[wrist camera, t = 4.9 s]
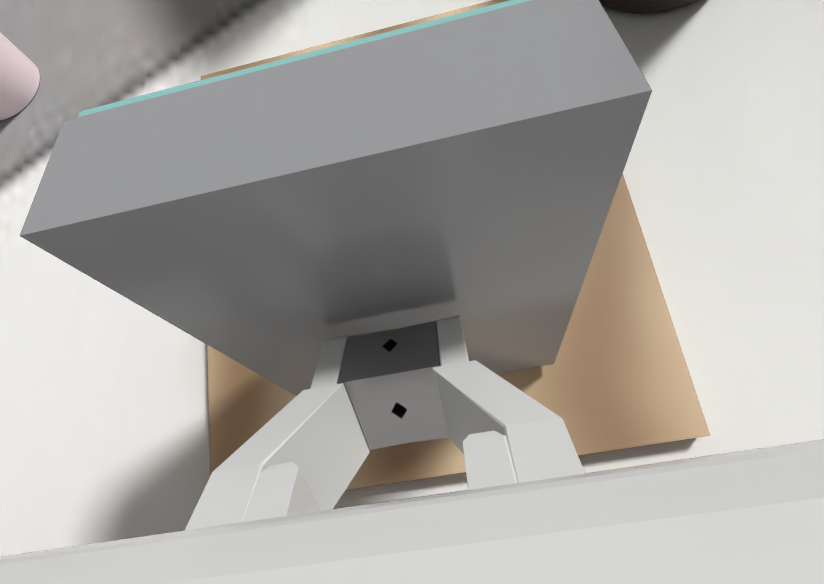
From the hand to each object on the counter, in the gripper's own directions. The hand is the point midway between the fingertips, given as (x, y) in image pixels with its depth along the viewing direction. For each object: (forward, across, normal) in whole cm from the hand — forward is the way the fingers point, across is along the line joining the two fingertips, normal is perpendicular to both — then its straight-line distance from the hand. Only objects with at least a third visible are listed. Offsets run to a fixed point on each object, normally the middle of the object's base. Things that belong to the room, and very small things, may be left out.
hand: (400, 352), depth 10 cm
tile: (+4, 0, +3) cm, 5 cm away
